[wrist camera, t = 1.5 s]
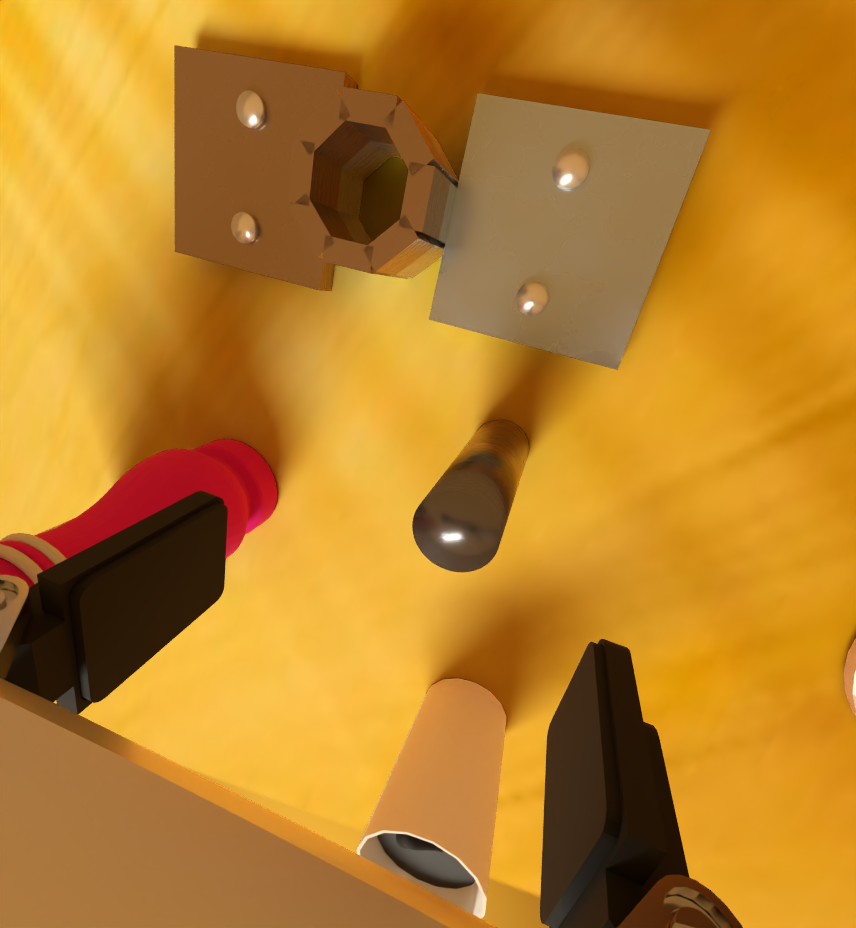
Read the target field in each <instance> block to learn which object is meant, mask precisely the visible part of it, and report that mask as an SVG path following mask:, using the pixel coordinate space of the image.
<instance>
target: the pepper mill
mask: <svg viewBox="0 0 856 928" xmlns="http://www.w3.org/2000/svg"><path fill="white" fill-rule="evenodd" d="M197 491H205V492H207V493H210V494H213V495H215V496H218V497H221V498H222V499H223V501H224V505H225V506H227V508H228V519H227V539H226V558H227V557H229V556H230V555H231V554H232V553H234V551H235V550H236V549H237V548H238V547H239V545H240V543H241V542H242V540H243V537H244V535H245V534H246V533H249V532H250V531H252V530H253V529H255V528H256V527H258V526H259V525H261V524H262V523H263V522H265V521H266V520H267V519H268V518H269V517H270V516H271V514H272V513H273V511H274V509H275V505H276V502H277V488H276V481H275V478H274V476H273V474H272V471H271V469H270V467H269V465H268V464H267V463H266V461H265V460H264V459H263V457H262V456H261V455H260V454H259V453H257V452H256V451H255V450H254V449H253V448H252V447H250V446H248V445H246V444H244V443H242V442H240V441H236V440H232V439H222V440H217V441H214V442H211V443H209V444H206V445H203V446H201V447H198V448H196V449H195V450H187V449H171V450H166V451H163V452H161V453H158V454H156V455H154V456H152V457H149V458H147V459H145V460H143V461H141V462H140V463H139V464H137V465H136V466H135V467H133V468H132V469H130V470H129V471H128V472H126V473H125V474H124V475H123V476H122V477H121V478H120V479H119V480H118V481H117V482H116V483H115V484H114V485H113V487H112V488H111V489H110V490H109V491H108V492H107V493H106V494H105V495H104V496H103V497H102V498H101V499H100V500H99V501H98V502H96V503H95V504H94V505H93V506H92V507H90V508H89V509H88V510H86V511H85V512H83V513H82V514H81V515H79V516H78V517H76V518H74V519H72V520H70V521H68V522H66V523H64V524H63V525H61V526H59V527H57V528H55V529H52V530H49V531H46V532H44V533H41V534H38V535H35V536H33V535H30V534H24V533H17V534H11V535H8V536H6V537H5V538H3V539H2V540H1V541H0V575H10V576H15V577H19V578H21V579H22V580H24V581H26V583H27V585H28V586H29V587H31V586H32V585H34V584H36V583H38V579H37V574H39V573H41V572H43V571H44V570H46V569H48V568H50V567H52V566H54V565H56V564H58V563H60V562H62V561H64V560H66V559H68V558H70V557H71V556H73V555H75V554H77V553H79V552H81V551H83V550H85V549H87V548H89V547H91V546H93V545H95V544H96V543H98V542H100V541H102V540H104V539H106V538H108V537H110V536H112V535H114V534H116V533H118V532H120V531H122V530H123V529H125V528H127V527H129V526H131V525H133V524H135V523H137V522H139V521H141V520H143V519H145V518H147V517H148V516H150V515H152V514H154V513H156V512H158V511H160V510H162V509H164V508H166V507H168V506H170V505H172V504H174V503H175V502H177V501H179V500H181V499H183V498H185V497H187V496H189V495H191V494H193V493H195V492H197Z"/></svg>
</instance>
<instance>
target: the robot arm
mask: <svg viewBox="0 0 856 928" xmlns="http://www.w3.org/2000/svg"><path fill="white" fill-rule="evenodd" d="M227 519H228V508H227V506H225V505H224V501H223V499H222V498H221V497H218V496H215V495H213V494H210V493H207V492H205V491H197V492H195V493H193V494H191V495H189V496H187V497H185V498H183V499H181V500H179V501H177V502H175V503H174V504H172V505H170V506H168V507H166V508H164V509H162V510H160V511H158V512H156V513H154V514H152V515H150V516H148V517H147V518H145V519H143V520H141V521H139V522H137V523H135V524H133V525H131V526H129V527H127V528H125V529H123V530H122V531H120V532H118V533H116V534H114V535H112V536H110V537H108V538H106V539H104V540H102V541H100V542H98V543H96V544H95V545H93V546H91V547H89V548H87V549H85V550H83V551H81V552H79V553H77V554H75V555H73V556H71V557H70V558H68V559H66V560H64V561H62V562H60V563H58V564H56V565H54V566H52V567H50V568H48V569H46V570H44V571H43V572H41V573H39V574H37V579H38V583H36V584H34V585H32V586H31V587H29V586H28V585H27V583H26V581H24V580H22V579H21V578H19V577H15V576H10V575H0V928H497V927H495V926H494V925H492V924H490V923H488V922H486V921H484V920H482V919H480V918H479V917H477V916H475V915H473V914H471V913H469V912H467V911H465V910H464V909H462V908H460V907H458V906H456V905H454V904H452V903H450V902H449V901H447V900H445V899H443V898H441V897H439V896H437V895H435V894H434V893H432V892H430V891H428V890H426V889H424V888H422V887H420V886H418V885H417V884H415V883H413V882H411V881H409V880H407V879H405V878H403V877H401V876H399V875H397V874H395V873H393V872H391V871H389V870H387V869H385V868H383V867H381V866H379V865H377V864H375V863H373V862H371V861H369V860H367V859H366V858H364V857H362V856H360V855H358V854H356V853H354V852H352V851H349V850H348V849H346V848H344V847H342V846H340V845H338V844H336V843H334V842H332V841H330V840H328V839H326V838H324V837H322V836H320V835H318V834H316V833H314V832H312V831H310V830H308V829H306V828H305V827H302V826H300V825H299V824H297V823H295V822H292V821H291V820H289V819H287V818H285V817H283V816H281V815H279V814H277V813H275V812H272V811H271V810H269V809H267V808H265V807H263V806H261V805H259V804H257V803H255V802H253V801H250V800H249V799H247V798H245V797H243V796H241V795H239V794H237V793H235V792H233V791H231V790H229V789H227V788H225V787H223V786H221V785H219V784H217V783H215V782H213V781H211V780H209V779H207V778H205V777H203V776H201V775H199V774H197V773H195V772H193V771H191V770H189V769H187V768H185V767H183V766H181V765H179V764H177V763H175V762H173V761H171V760H169V759H167V758H165V757H163V756H161V755H159V754H157V753H155V752H153V751H151V750H149V749H147V748H145V747H143V746H141V745H139V744H137V743H135V742H133V741H130V740H128V739H126V738H124V737H122V736H120V735H118V734H116V733H114V732H112V731H110V730H108V729H106V728H104V727H102V726H100V725H98V724H96V723H94V722H92V721H90V720H88V719H86V718H84V717H82V716H80V715H78V714H79V713H81V712H82V711H83V710H84V709H85V708H86V707H88V706H89V705H90V704H91V703H92V702H94V703H95V702H99V701H101V700H103V699H104V698H105V697H106V696H108V695H109V694H110V693H111V692H112V691H113V690H115V689H116V688H117V687H118V686H119V685H120V684H122V683H123V682H124V681H125V680H126V679H127V678H128V677H130V676H131V675H132V674H133V673H134V672H135V671H137V670H138V669H139V668H140V667H141V666H142V665H144V664H145V663H146V662H147V661H148V660H149V659H150V658H152V657H153V656H154V655H155V654H156V653H157V652H159V651H160V650H161V649H162V648H163V647H164V646H165V645H167V644H168V643H169V642H170V641H171V640H172V639H174V638H175V637H176V636H177V635H178V634H179V633H181V632H182V631H183V630H184V629H185V628H186V627H187V626H189V625H190V624H191V623H192V622H193V621H194V620H196V619H197V618H198V617H199V616H200V615H201V614H202V613H204V612H205V611H206V610H207V609H208V608H209V607H211V606H212V605H213V604H214V603H215V602H216V601H217V600H218V599H219V598H220V596H221V595H222V593H223V590H224V580H225V560H226V539H227ZM844 685H845V693H846V696H847V698H848V701H849V704H850V707H851V709H852V711H853V713H854V714H855V716H856V638H855V640H854V642H853V644H852V646H851V647H850V649H849V651H848V655H847V659H846V664H845V668H844ZM55 700H57V704H55V703H53V702H54V701H55ZM540 917H541V922H542V923H543V924H545V925H547V926H549V928H743V927H742V925H741V924H740V923H739V921H738V920H737V919H736V917H735V916H734V915H733V913H732V912H731V911H730V909H729V908H728V907H727V906H726V905H725V904H724V903H723V902H722V901H721V900H720V899H719V898H718V897H717V896H716V895H715V894H714V893H713V892H712V891H711V890H709V889H708V888H706V887H705V886H703V885H702V884H700V883H699V882H698V881H696V880H694V879H691V878H689V874H688V869H687V864H686V860H685V855H684V851H683V846H682V841H681V837H680V832H679V827H678V823H677V818H676V814H675V809H674V804H673V800H672V795H671V790H670V786H669V781H668V776H667V772H666V767H665V763H664V758H663V753H662V749H661V744H660V739H659V736H658V733H657V730H656V729H655V727H654V726H653V725H650V724H648V723H645V722H643V718H642V712H641V707H640V702H639V696H638V691H637V685H636V680H635V675H634V669H633V664H632V659H631V653H630V650H629V649H628V648H626V647H623V646H621V645H618V644H615V643H613V642H610V641H607V640H605V639H601V640H600V641H599V642H598V644H596V643H593V642H590V643H589V645H588V646H587V648H586V650H585V652H584V655H583V657H582V659H581V661H580V663H579V665H578V667H577V669H576V671H575V673H574V675H573V677H572V679H571V681H570V683H569V685H568V688H567V690H566V692H565V694H564V696H563V698H562V700H561V702H560V704H559V706H558V708H557V710H556V712H555V714H554V716H553V718H552V721H551V723H550V726H549V730H548V735H547V751H546V776H545V801H544V826H543V851H542V875H541V901H540Z"/></svg>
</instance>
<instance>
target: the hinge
mask: <svg viewBox="0 0 856 928" xmlns="http://www.w3.org/2000/svg"><path fill="white" fill-rule="evenodd" d="M710 132H711V130H709V129H703V128H697V127H690V126H684V125H678V124H671V123H665V122H659V121H652V120H646V119H639V118H633V117H627V116H620V115H614V114H608V113H601V112H595V111H589V110H582V109H576V108H570V107H563V106H557V105H550V104H544V103H538V102H531V101H525V100H519V99H512V98H506V97H500V96H493V95H487V94H481V93H477V98H476V102H475V107H474V112H473V116H472V121H471V126H470V130H469V135H468V140H467V144H466V149H465V154H464V158H463V163H462V168H461V172H460V177H459V180H458V178H457V176H456V174H455V172H454V170H453V169H452V167H451V165H450V163H449V161H448V159H447V157H446V155H445V153H444V151H443V150H442V148H441V146H440V144H439V142H438V141H437V140H436V138H435V137H434V136H433V135H432V134H431V132H430V131H429V130H428V129H427V128H426V127H425V125H424V124H423V123H422V122H421V121H420V119H419V118H418V117H417V116H416V115H415V114H414V112H413V111H412V110H411V109H410V108H409V106H408V105H407V104H406V103H405V102H404V101H402V100H401V99H400V98H399V97H398V96H396V95H390V94H384V93H378V92H372V91H366V90H360V89H357V84H356V83H355V82H354V80H353V79H352V78H351V77H350V76H349V75H348V74H347V73H346V72H341V71H334V70H328V69H322V68H315V67H309V66H303V65H296V64H290V63H283V62H277V61H271V60H264V59H258V58H252V57H245V56H239V55H233V54H226V53H220V52H214V51H207V50H201V49H194V48H188V47H182V46H175V252H178V253H182V254H186V255H190V256H193V257H197V258H201V259H205V260H208V261H212V262H216V263H220V264H223V265H227V266H231V267H235V268H238V269H242V270H246V271H249V272H253V273H257V274H261V275H264V276H268V277H272V278H276V279H279V280H283V281H287V282H291V283H294V284H298V285H302V286H306V287H309V288H313V289H317V290H325V291H331V287H332V280H333V272H334V264H335V265H339V266H343V267H347V268H351V269H355V270H359V271H363V272H367V273H372V274H379V275H385V276H392V277H398V278H405V279H407V278H408V277H410V278H413V277H414V276H416V275H417V274H418V273H420V272H421V271H422V270H424V269H425V268H426V267H428V266H429V265H431V264H432V263H433V262H435V261H436V260H437V259H439V258H440V257H442V261H441V266H440V270H439V275H438V280H437V284H436V289H435V294H434V298H433V303H432V308H431V312H430V317H429V320H433V321H437V322H440V323H444V324H448V325H452V326H455V327H459V328H463V329H467V330H470V331H474V332H478V333H482V334H485V335H489V336H493V337H497V338H500V339H504V340H508V341H512V342H515V343H519V344H523V345H527V346H530V347H534V348H538V349H542V350H545V351H549V352H553V353H557V354H560V355H564V356H568V357H572V358H575V359H579V360H583V361H587V362H590V363H594V364H598V365H602V366H605V367H609V368H613V369H618V367H619V364H620V362H621V359H622V357H623V354H624V352H625V349H626V346H627V344H628V341H629V339H630V336H631V334H632V331H633V329H634V326H635V323H636V321H637V318H638V316H639V313H640V311H641V308H642V306H643V303H644V300H645V298H646V295H647V293H648V290H649V288H650V285H651V283H652V280H653V277H654V275H655V272H656V270H657V267H658V265H659V262H660V260H661V257H662V254H663V252H664V249H665V247H666V244H667V242H668V239H669V237H670V234H671V231H672V229H673V226H674V224H675V221H676V219H677V216H678V214H679V211H680V208H681V206H682V203H683V201H684V198H685V196H686V193H687V191H688V188H689V185H690V183H691V180H692V178H693V175H694V173H695V170H696V168H697V165H698V162H699V160H700V157H701V155H702V152H703V150H704V147H705V145H706V142H707V139H708V137H709V134H710ZM390 157H395V158H400V159H403V161H404V163H405V164H406V166H407V168H408V176H407V181H406V187H405V193H404V198H403V204H402V210H401V216H400V219H399V220H398V221H397V222H396V223H394V224H393V225H392V226H391V227H390V228H388V229H387V230H386V231H385V232H383V233H382V234H381V235H380V236H378V237H377V238H376V239H375V240H374V241H371V239H370V237H369V236H368V234H367V232H366V230H365V229H364V227H363V225H362V223H361V222H360V220H359V213H360V206H361V199H362V192H363V185H364V180H365V179H366V178H368V177H369V176H370V175H371V174H372V173H373V172H374V171H375V170H376V169H378V168H379V167H380V166H381V165H382V164H383V163H384V162H385V161H387V160H388V159H389V158H390Z"/></svg>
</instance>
